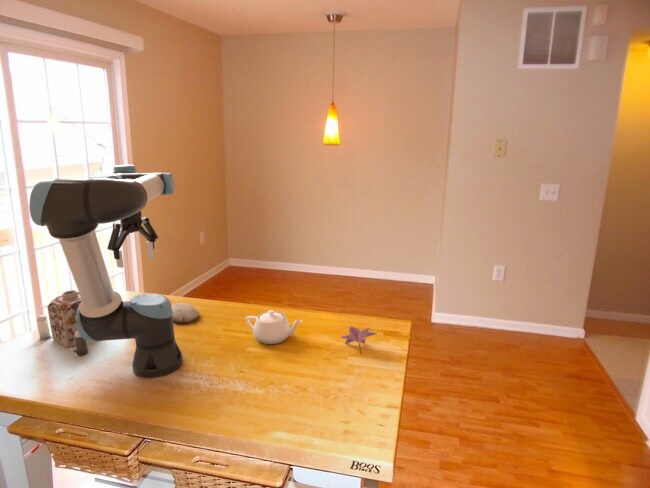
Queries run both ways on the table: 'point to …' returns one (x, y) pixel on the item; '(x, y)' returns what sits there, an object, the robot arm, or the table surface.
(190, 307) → the stone
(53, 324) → the decorative jar
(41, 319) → the salt shaker
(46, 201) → the robot arm
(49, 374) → the table surface
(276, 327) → the teapot
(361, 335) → the lily
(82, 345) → the pepper shaker
